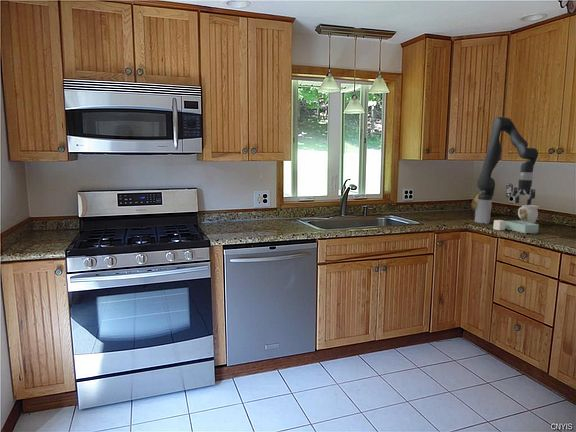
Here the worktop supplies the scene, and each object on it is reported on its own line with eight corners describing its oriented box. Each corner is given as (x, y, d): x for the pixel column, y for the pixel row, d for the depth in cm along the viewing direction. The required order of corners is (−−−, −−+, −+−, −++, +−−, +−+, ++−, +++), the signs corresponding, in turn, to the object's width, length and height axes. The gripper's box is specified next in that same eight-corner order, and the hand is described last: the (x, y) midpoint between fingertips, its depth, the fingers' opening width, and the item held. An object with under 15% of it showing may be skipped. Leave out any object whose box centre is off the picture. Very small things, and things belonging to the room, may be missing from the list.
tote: (504, 229, 272) (504, 221, 271) (517, 228, 276) (517, 220, 275) (524, 233, 258) (525, 225, 257) (537, 232, 262) (538, 224, 261)
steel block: (520, 228, 270) (521, 221, 269) (526, 230, 266) (527, 222, 265) (514, 229, 269) (515, 221, 268) (520, 230, 264) (521, 223, 263)
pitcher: (523, 221, 308) (525, 203, 306) (543, 225, 291) (545, 206, 289) (511, 221, 306) (513, 203, 303) (530, 225, 288) (533, 206, 286)
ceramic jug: (481, 217, 324) (484, 179, 319) (466, 214, 338) (469, 178, 334) (496, 216, 331) (500, 179, 326) (481, 213, 345) (484, 178, 340)
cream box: (493, 229, 273) (494, 220, 272) (498, 228, 274) (499, 220, 273) (499, 230, 268) (500, 221, 267) (505, 230, 270) (505, 221, 269)
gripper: (540, 180, 257) (536, 205, 259) (520, 178, 270) (517, 202, 272) (531, 180, 254) (528, 205, 257) (511, 178, 267) (509, 202, 270)
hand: (522, 204), depth 265 cm, fingers open, 8 cm apart
